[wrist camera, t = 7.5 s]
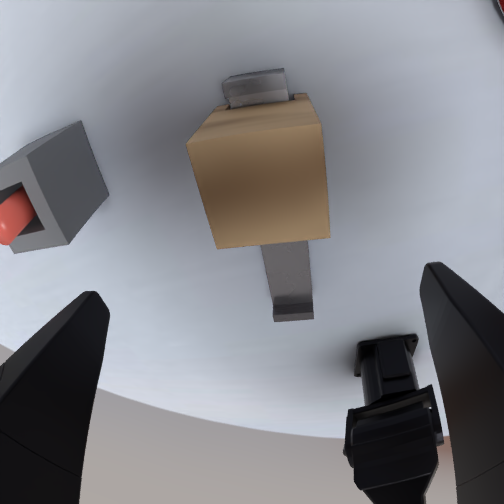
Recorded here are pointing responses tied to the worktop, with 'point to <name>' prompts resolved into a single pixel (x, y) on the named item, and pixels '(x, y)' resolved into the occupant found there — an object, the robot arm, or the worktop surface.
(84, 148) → the grey button housing
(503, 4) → the soda can
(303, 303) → the rail
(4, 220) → the red peg
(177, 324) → the worktop surface
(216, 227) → the block
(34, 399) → the robot arm
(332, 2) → the worktop surface
